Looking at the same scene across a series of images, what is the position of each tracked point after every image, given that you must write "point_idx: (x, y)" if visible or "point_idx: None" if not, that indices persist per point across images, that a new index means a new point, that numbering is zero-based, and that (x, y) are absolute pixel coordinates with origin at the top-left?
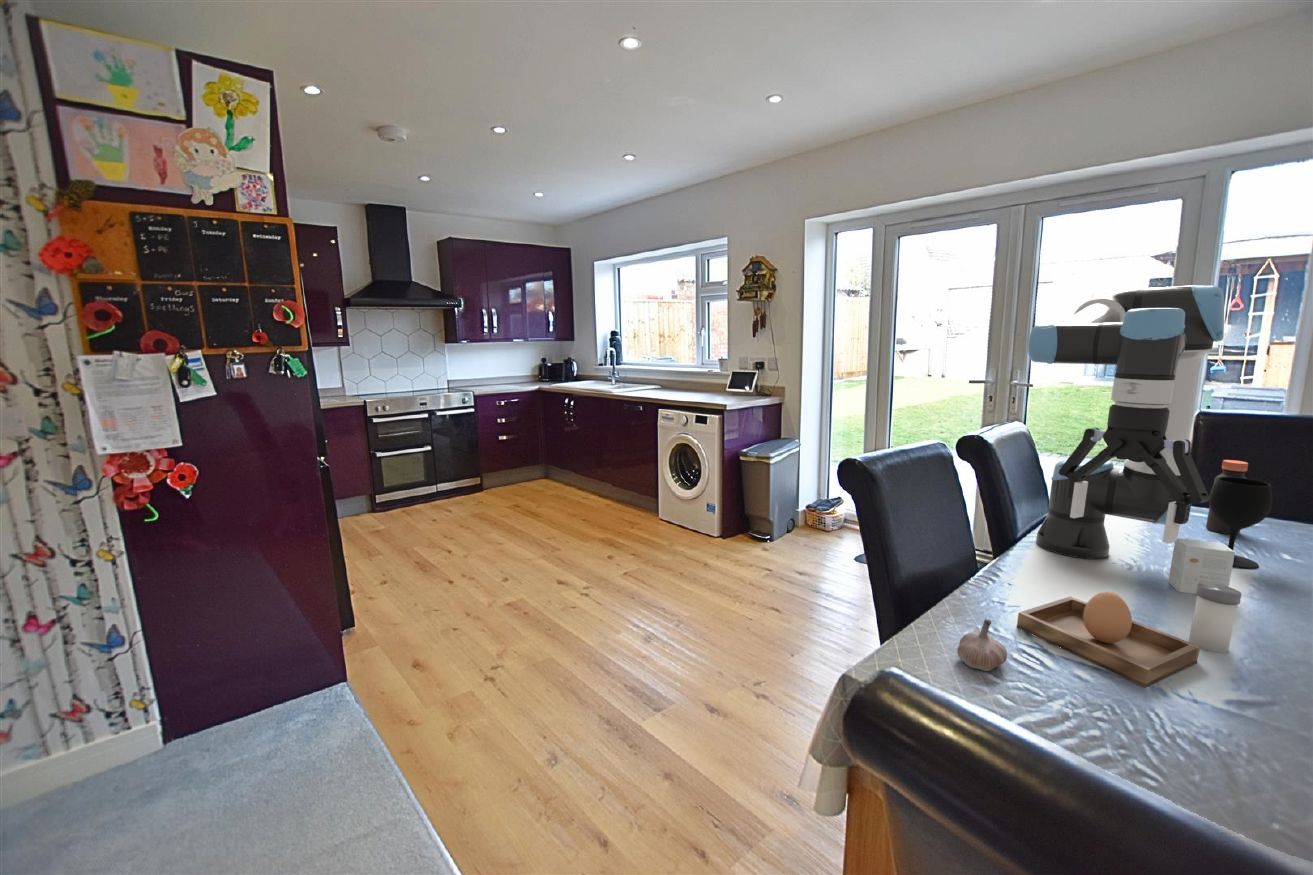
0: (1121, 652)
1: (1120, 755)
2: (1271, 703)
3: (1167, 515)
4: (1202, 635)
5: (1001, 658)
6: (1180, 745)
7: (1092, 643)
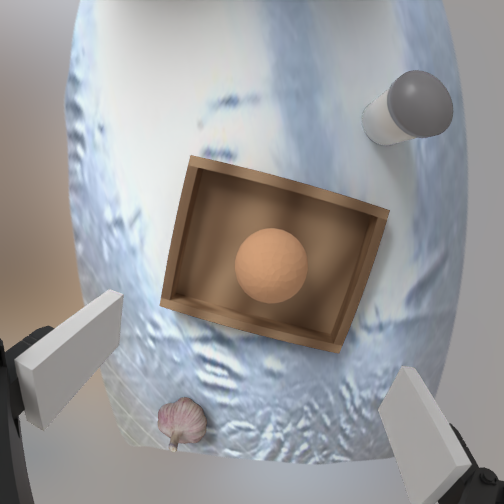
0: None
1: (324, 457)
2: (444, 260)
3: (402, 475)
4: (384, 141)
5: (204, 432)
6: (364, 416)
7: (269, 332)
